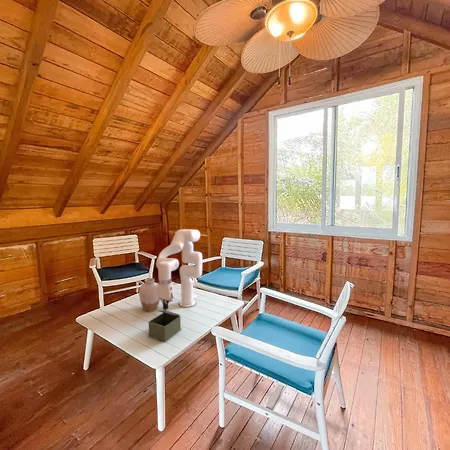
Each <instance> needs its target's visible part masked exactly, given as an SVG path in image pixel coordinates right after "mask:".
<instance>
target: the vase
mask: <svg viewBox="0 0 450 450" xmlns="http://www.w3.org/2000/svg"><path fill="white" fill-rule="evenodd" d="M158 283H159V282H158ZM158 283H157V282H155V278H152V277H149V278H146V279H144V283H142V284H141V285H140V286H139V289H138V296H139V302H140V304H141V307H142V308H143V310H144V311H145V312H153V311H156V310H158V307H159V305H160V301H161V300H160V299H159V298H158V295H157V289H158Z"/></svg>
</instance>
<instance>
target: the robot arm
mask: <svg viewBox="0 0 450 450" xmlns="http://www.w3.org/2000/svg"><path fill="white" fill-rule="evenodd" d="M200 239H201V232H200V230H198V229H189V228H187V229H185V228H184V229H183V228H182V229H178V230H176V231H175V233H174V235H173V237H172V240H171V242H170V244H169V245H167V246H166V247H165V248H163V249H162V250H161V251H160V252H159V254H158V257H157V259H156V263H155V266H156V268H157V271H158V272H157V273H158V289H157V295H158V298H159V299H160V301H161V303H162V310H166V311H167V310H168V309H169V303H173V301H174V300H173V299H174V298H175V290H174V285H173V280H172V272H174V271H176V270H177V269H179V277H180V292H181V293H180V296H181V297H180V299H181V300H180V301H179V302H178V303H179V306H180V307H184V308H189V307H193V306H195V305H196V300H195V298H197V295H196V294H194V280H193V279H201V277H202V276H203V253H202V252H201V251H194V243H195V242H198V241H199V240H200ZM180 252H181V260H182V263H184V264H183V265H181V266H180V267H179V265H180V262H179V260H178V258H172V257H169V256H171V255H175V254H177V253H180Z"/></svg>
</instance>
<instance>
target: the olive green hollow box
mask: <svg viewBox="0 0 450 450" xmlns="http://www.w3.org/2000/svg"><path fill="white" fill-rule="evenodd" d="M164 326H165V327H164ZM181 326H182V325H181V315H180V314H179V315H178V316H173V315H169V314H166V313H163V312H161V313H160V314H158V315H157V316H155V317H153V318H152V319H150V320H149V321H148V337H151V338H153V339H156V340H158V341H161V342H165V343H166V342H167V341H168V340H169V339H171V338H172V337H173V336H175V335H176V334H177V333H179V332H180V331H181V329H182V328H181Z"/></svg>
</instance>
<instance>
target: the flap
mask: <svg viewBox="0 0 450 450" xmlns="http://www.w3.org/2000/svg"><path fill="white" fill-rule="evenodd" d="M157 312H160V313H166V314H169V315H173V316H178V315H179V316H180V314H179V313H176V312H173V311H169V310H167V309H166V310H163V309H157Z"/></svg>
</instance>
